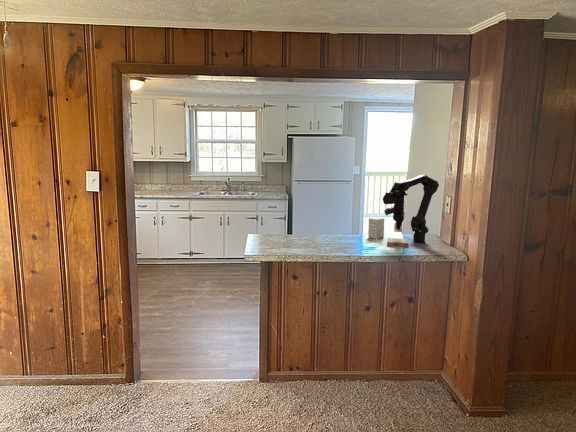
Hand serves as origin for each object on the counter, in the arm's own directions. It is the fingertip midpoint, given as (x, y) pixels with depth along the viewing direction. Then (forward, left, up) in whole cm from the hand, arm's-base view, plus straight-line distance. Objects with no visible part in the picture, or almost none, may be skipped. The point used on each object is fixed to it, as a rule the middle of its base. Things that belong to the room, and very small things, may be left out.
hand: (398, 229), depth 248 cm
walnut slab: (0, 0, -10) cm, 10 cm away
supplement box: (+14, -19, -10) cm, 25 cm away
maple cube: (0, 0, -1) cm, 1 cm away
